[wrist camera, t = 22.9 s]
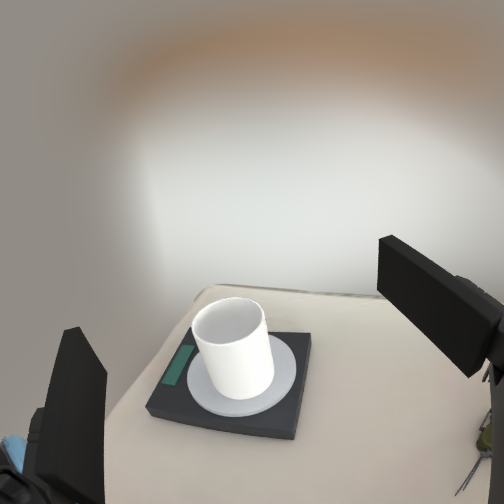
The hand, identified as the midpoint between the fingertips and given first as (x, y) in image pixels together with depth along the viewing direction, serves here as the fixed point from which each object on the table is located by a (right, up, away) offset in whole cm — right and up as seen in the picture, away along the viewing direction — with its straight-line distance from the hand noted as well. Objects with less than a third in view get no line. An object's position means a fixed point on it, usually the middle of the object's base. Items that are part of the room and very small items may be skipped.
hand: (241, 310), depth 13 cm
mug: (-1, -14, +29) cm, 32 cm away
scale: (-2, -16, +31) cm, 35 cm away
